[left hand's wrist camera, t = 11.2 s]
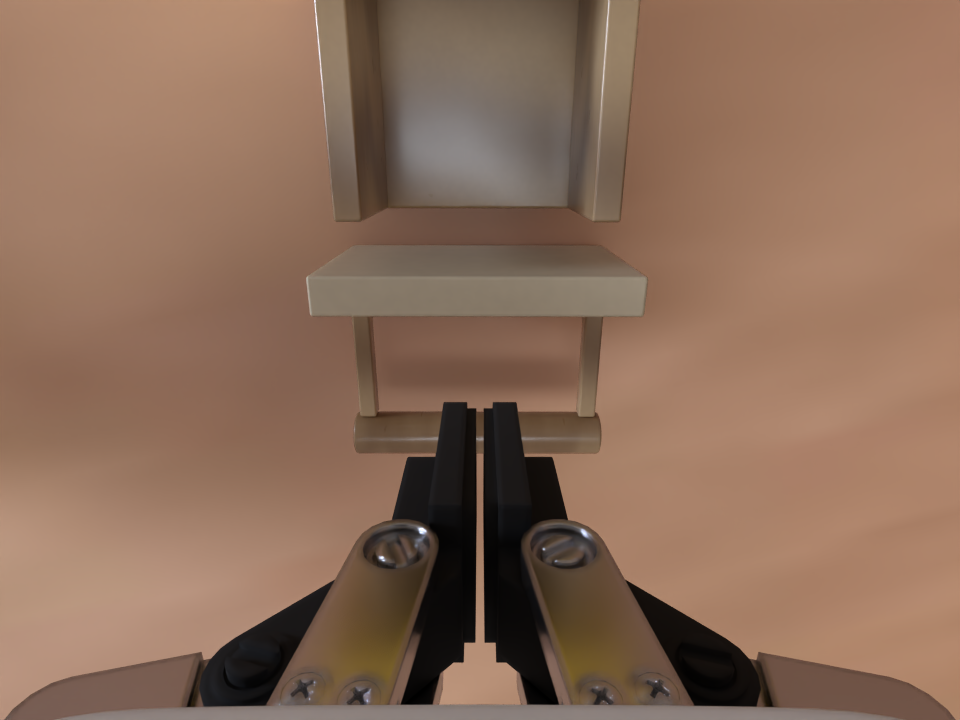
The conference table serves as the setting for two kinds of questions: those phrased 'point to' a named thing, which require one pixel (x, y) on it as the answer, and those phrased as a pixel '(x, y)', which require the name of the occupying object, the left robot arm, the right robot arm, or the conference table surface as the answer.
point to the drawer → (477, 178)
